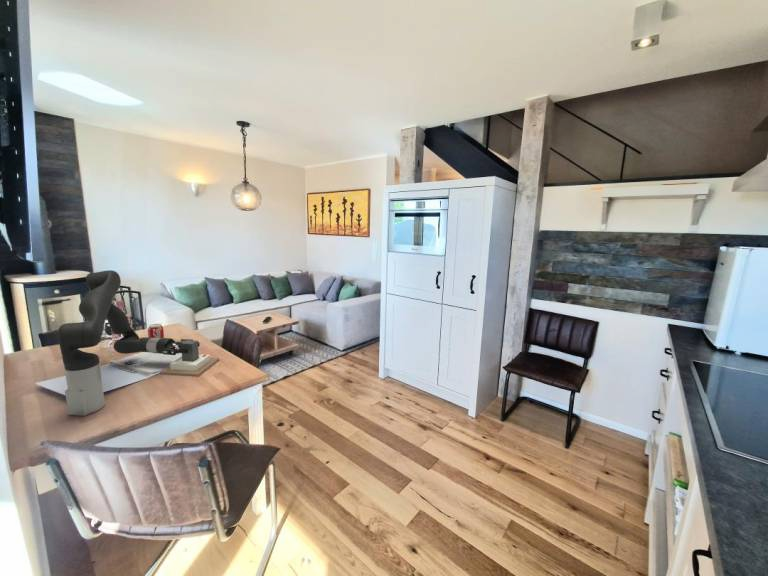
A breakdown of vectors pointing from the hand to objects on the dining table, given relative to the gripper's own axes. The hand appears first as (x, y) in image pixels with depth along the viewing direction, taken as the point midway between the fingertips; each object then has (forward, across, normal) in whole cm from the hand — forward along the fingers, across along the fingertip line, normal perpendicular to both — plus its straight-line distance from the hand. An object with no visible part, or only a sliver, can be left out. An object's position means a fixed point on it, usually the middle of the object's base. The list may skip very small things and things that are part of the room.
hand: (193, 347), depth 154 cm
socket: (-2, 0, +10) cm, 10 cm away
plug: (-2, 0, +9) cm, 9 cm away
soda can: (-35, +22, +10) cm, 43 cm away
